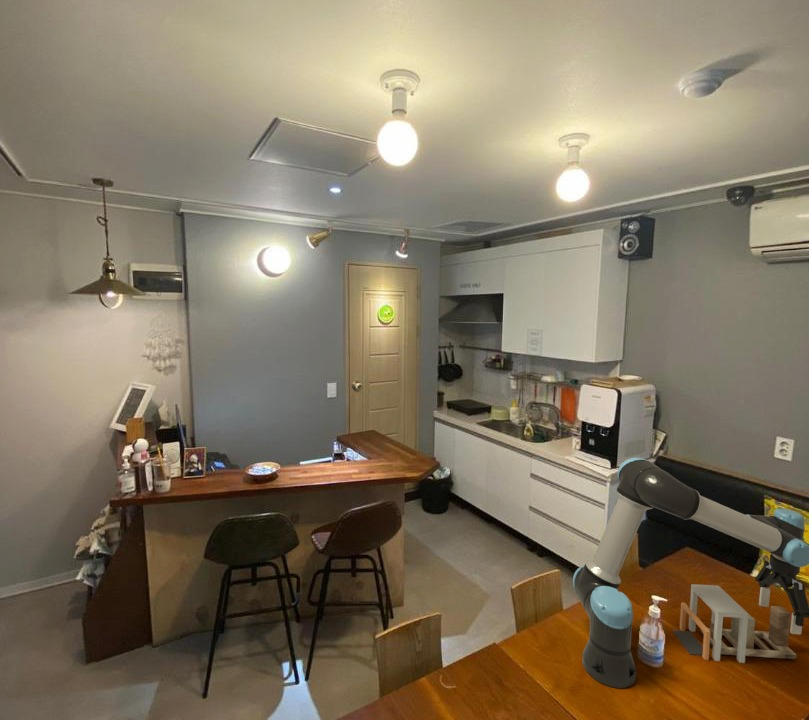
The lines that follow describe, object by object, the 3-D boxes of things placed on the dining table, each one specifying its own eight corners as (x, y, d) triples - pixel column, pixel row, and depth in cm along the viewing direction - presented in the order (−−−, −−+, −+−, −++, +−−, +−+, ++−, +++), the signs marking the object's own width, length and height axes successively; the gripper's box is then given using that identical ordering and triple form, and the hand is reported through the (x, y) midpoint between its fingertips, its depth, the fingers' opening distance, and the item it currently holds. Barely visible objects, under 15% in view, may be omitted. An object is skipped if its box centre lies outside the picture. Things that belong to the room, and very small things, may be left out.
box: (753, 652, 143) (756, 620, 142) (739, 651, 143) (742, 619, 143) (742, 640, 148) (745, 610, 147) (729, 640, 149) (731, 609, 148)
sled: (720, 654, 141) (722, 615, 140) (701, 631, 152) (703, 595, 151) (795, 659, 139) (799, 620, 138) (771, 636, 150) (774, 600, 149)
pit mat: (690, 654, 142) (690, 653, 142) (672, 631, 153) (672, 630, 153) (709, 656, 141) (709, 655, 141) (690, 632, 152) (690, 631, 152)
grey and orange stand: (704, 660, 140) (708, 611, 138) (679, 627, 154) (682, 583, 153) (744, 662, 139) (748, 613, 137) (715, 630, 153) (718, 585, 152)
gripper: (831, 580, 130) (824, 647, 131) (768, 539, 154) (763, 596, 156) (804, 578, 130) (797, 645, 132) (746, 538, 155) (741, 594, 157)
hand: (778, 619), depth 144 cm, fingers open, 13 cm apart
